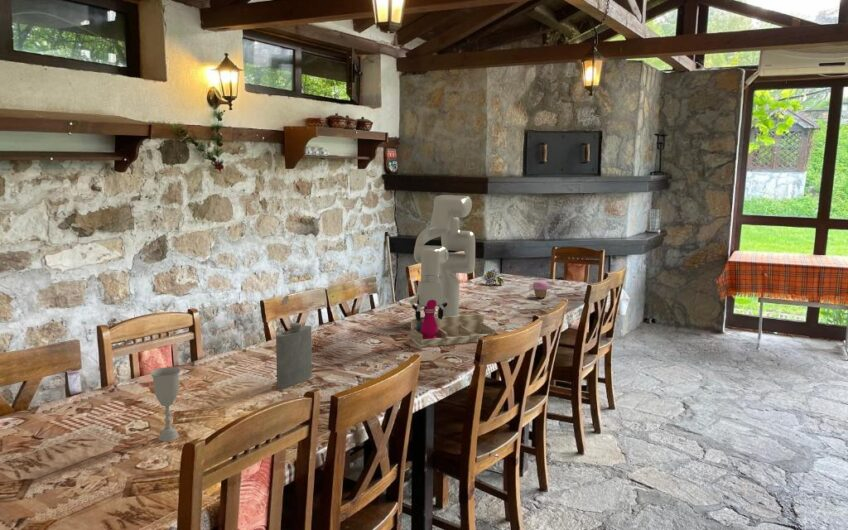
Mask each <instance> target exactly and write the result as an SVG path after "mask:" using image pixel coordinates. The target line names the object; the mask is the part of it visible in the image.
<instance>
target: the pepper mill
mask: <svg viewBox="0 0 848 530" xmlns="http://www.w3.org/2000/svg"><path fill="white" fill-rule="evenodd" d="M436 307H437V306H436V301H435V300H429V301H428V302H427V306H426V307H424V308H423V313H424V317H425V318H424V321H423V323H422V325H421V333H422V334H423V339H435V338H437V336H436V334H437V332H438V327H437V324H436V322H435V318H434V317H435V313H436V310H437V309H436Z"/></svg>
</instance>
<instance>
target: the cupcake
mask: <svg viewBox="0 0 848 530" xmlns="http://www.w3.org/2000/svg"><path fill="white" fill-rule="evenodd" d="M549 287H550V285H549V283H548V282H547V281H546V280H542V279H541V280H536V281H534V282H533V284H532V289H533V290H534V296H535V297H536V298H540V299H543V297H544V298H546V297H547V290H548V289H549Z"/></svg>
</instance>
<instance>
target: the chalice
mask: <svg viewBox="0 0 848 530" xmlns="http://www.w3.org/2000/svg"><path fill="white" fill-rule="evenodd" d="M180 372H181V368H179V367H175V366H173V367H172V366H167V367H160V368H157V369H154V370H152V371H151V372H150V375H151V377H152V382H153V386H152V387H153V393H154V395H155V397H156V399H157V401H158V403H160V406H162V407H165V409H164V415H165V418H164V419H163V421H164V422H165V426H164V427H163V428H162V429H161V430H160V433H159V436H158V441H161V442H170V441H175V440H177V439H178V438H179V436H180V435H179V433H178V431H177V429H176V428H175V427H174V426H172V425H171V421H172V418H171V417H170V415H171V413H172V412H171V410H170V406H172V405H173V404H174V402H175V399H176V398H177V395H178V392H179V389H180V382H179V374H180Z"/></svg>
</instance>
